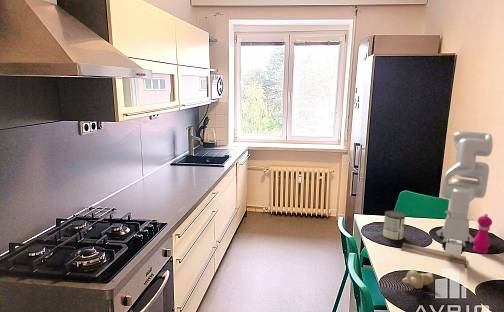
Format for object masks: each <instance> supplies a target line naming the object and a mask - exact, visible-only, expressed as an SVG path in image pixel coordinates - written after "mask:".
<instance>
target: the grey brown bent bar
mask: <svg viewBox="0 0 504 312" xmlns="http://www.w3.org/2000/svg"><path fill="white" fill-rule="evenodd" d="M400 251H401V252H402V251H403V252H406V253H410V254H416V255H420V256H424V257H430V258H433V259H437V260H440V261H441V260H442V261H446V262H451V263H453V264H454V263H455V264H459V265H464V268H465V269H467V267H468V263H467V256H464V255H461V256H458V255H454V257H453V259H450V254H449V253H445V251H444V250H438V249H432V248H429V247H424V246H419V245H414V244H410V243H406V242H403V243H402V246H401V248H400Z"/></svg>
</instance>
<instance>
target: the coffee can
mask: <svg viewBox="0 0 504 312" xmlns="http://www.w3.org/2000/svg"><path fill="white" fill-rule="evenodd" d="M383 220H384V221H383V230H382V235H383V237H385V238H387V239H390V240H397V241H398V240H402V239H403V237H404V230H405V229H404V228H405V220H406V214H405V213H403V212H401V211H397V210H386V211H384V219H383Z"/></svg>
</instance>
